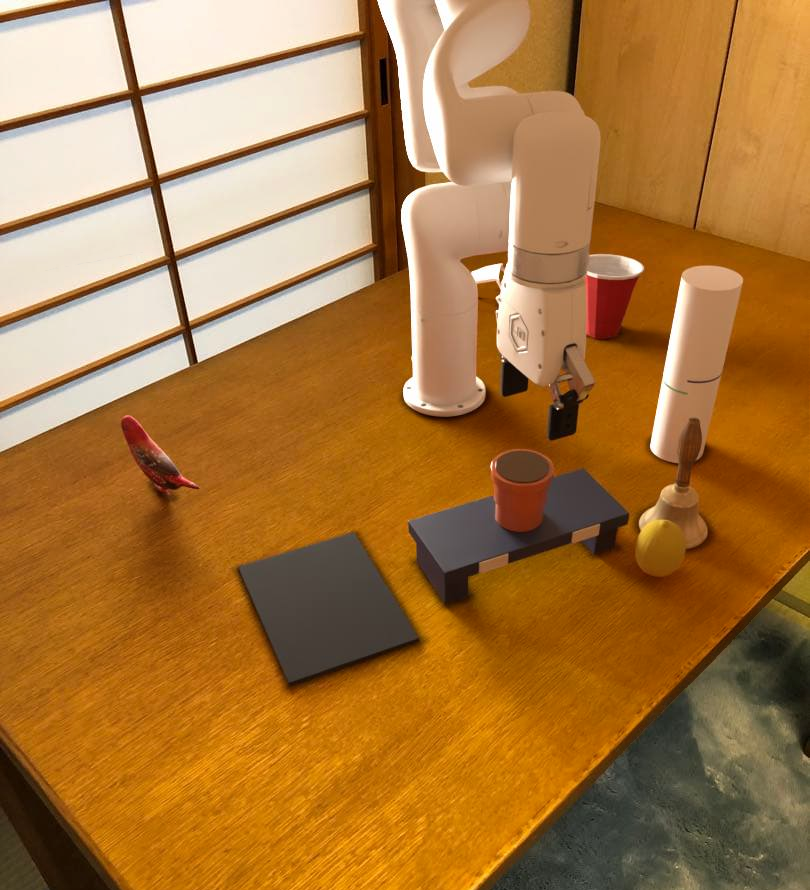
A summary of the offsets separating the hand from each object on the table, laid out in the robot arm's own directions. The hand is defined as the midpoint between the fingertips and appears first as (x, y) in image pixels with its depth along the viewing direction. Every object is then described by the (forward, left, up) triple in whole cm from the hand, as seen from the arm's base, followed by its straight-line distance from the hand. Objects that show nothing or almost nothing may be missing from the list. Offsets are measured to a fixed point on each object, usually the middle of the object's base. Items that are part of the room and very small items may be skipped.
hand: (536, 413), depth 94 cm
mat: (-2, -25, -20) cm, 32 cm away
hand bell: (+4, +19, -20) cm, 28 cm away
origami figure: (-64, +29, -20) cm, 73 cm away
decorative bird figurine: (-30, -37, -20) cm, 52 cm away
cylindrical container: (-10, +30, -20) cm, 37 cm away
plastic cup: (-44, +40, -20) cm, 63 cm away
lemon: (+10, +12, -20) cm, 25 cm away
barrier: (0, -1, -20) cm, 20 cm away
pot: (0, -1, -14) cm, 14 cm away
